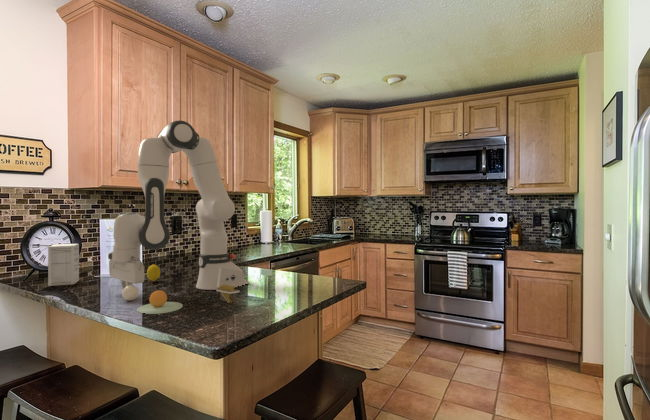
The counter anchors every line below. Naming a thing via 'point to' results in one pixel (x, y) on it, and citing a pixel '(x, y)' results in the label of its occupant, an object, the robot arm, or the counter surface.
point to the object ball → (158, 298)
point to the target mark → (160, 308)
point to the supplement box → (63, 264)
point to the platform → (227, 293)
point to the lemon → (153, 272)
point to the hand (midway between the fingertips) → (126, 292)
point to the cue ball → (130, 292)
